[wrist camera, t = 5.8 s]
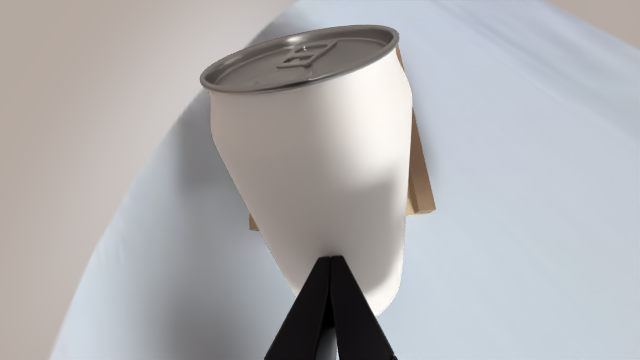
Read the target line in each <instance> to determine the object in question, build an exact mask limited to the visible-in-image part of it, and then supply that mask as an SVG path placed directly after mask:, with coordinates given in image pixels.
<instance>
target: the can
mask: <svg viewBox="0 0 640 360" xmlns="http://www.w3.org/2000/svg"><path fill="white" fill-rule="evenodd" d="M398 42H399V34H398V32H397V31H396V30H395V29H393V28H390V27H386V26H381V25H349V26H339V27H331V28H324V29H318V30H313V31H307V32H302V33H298V34H293V35H289V36H285V37H281V38H277V39H274V40H270V41H267V42H264V43H260V44H257V45H254V46H251V47H249V48H246V49H243V50H241V51H238V52H236V53H233V54H231V55H229V56H227V57H224V58H222V59H221V60H219V61H217V62H215V63H213V64H212V65H211V66H209V67H208V68H207V69H205V70H204V72H203V73H202V74H201V76H200V83H201V85H202V86H203V87H204V88H205V89H207V90H208V92H209V95H210V100H211V134H212V138H213V140H214V143H215V146H216V148H217V150H218V152H219V154H220V156H221V158H222V160H223V162H224V164H225V166H226V168H227V170H228V172H229V174H230V176H231V178H232V179H233V181H234V183H235V185H236V187H237V189H238V191H239V193H240V195H241V197H242V198H243V200H244V202H245V204H246V206H247V208H248V210H249V212H250V214H251V215H252V217H253V219H254V221H255V223H256V225H257V227H258V229H259V230H260V232H261V234H262V236H263V238H264V240H265V242H266V244H267V245H268V247H269V249H270V251H271V253H272V255H273V257H274V258H275V260H276V262H277V264H278V266H279V268H280V270H281V271H282V273H283V275H284V277H285V279H286V281H287V282H288V284H289V286H290V288H291V290H292V292H293V293H294V295H295V297H296V298H297V296H298V294H299V292H300V291H301V289H302V287H303V285H304V283H305V281H306V279H307V278H308V276H309V274H310V272H311V270H312V268H313V266H314V264H315V263H316V261H317V259H318V258H319V257H324V256H330V257H331V256H335V255H343V256H344V258H345V260H346V262H347V264H348V266H349V268H350V270H351V271H352V273H353V275H354V277H355V279H356V281H357V283H358V285H359V287H360V289H361V291H362V292H363V294H364V296H365V298H366V300H367V302H368V304H369V306H370V308H371V310H372V312H373V314H374V315H375V317H376V316H377V315H379V314H380V313H381V312H383V311H384V310H385V309H386V308H387V307H388V306H389V305H390V303H391V302H392V301H393V299H394V297H395V296H396V294H397V291H398V289H399V286H400V281H401V275H402V264H403V251H404V237H405V222H406V207H407V192H408V176H409V160H410V143H411V124H412V92H411V88H410V85H409V82H408V80H407V77H406V75H405V73H404V71H403V69H402V67H401V65H400V63H399V60H398V58H397V55H396V46H397V44H398Z"/></svg>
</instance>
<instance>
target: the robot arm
mask: <svg viewBox="0 0 640 360" xmlns="http://www.w3.org/2000/svg"><path fill="white" fill-rule="evenodd" d="M337 347H338V354H339V360H398V359H397V357H396V356H395V355H394V352H393V350H392V348H391V346H390V344H389V342H388V340H387V338H386V336H385V335H384V333H383V331H382V329H381V327H380V325H379V323H378V321H377V319H376V317H375V315H374V314H373V312H372V310H371V308H370V306H369V304H368V302H367V300H366V298H365V296H364V294H363V292H362V291H361V289H360V287H359V285H358V283H357V281H356V279H355V277H354V275H353V273H352V271H351V270H350V268H349V266H348V264H347V262H346V260H345V258H344V256H343V255H335V256H331V257H330V256H324V257H319V258H318V259H317V261H316V263H315V264H314V266H313V268H312V270H311V272H310V274H309V276H308V278H307V279H306V281H305V283H304V285H303V287H302V289H301V291H300V292H299V294H298V296H297V298H296V300H295V302H294V304H293V305H292V307H291V309H290V311H289V313H288V315H287V317H286V319H285V320H284V322H283V324H282V326H281V328H280V330H279V332H278V333H277V335H276V337H275V339H274V341H273V343H272V345H271V346H270V348H269V350H268V352H267V354H266V356H265V358H264V360H336V352H337Z"/></svg>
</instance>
